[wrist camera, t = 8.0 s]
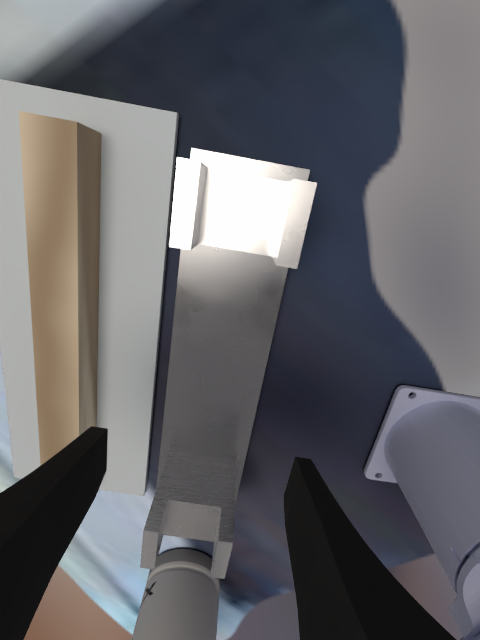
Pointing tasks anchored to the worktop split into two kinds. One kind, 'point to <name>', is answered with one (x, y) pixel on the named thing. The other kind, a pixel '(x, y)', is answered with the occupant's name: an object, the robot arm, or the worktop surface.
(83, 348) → the rail
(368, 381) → the worktop surface
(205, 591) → the travel mug
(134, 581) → the worktop surface
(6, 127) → the mat
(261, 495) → the worktop surface
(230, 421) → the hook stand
